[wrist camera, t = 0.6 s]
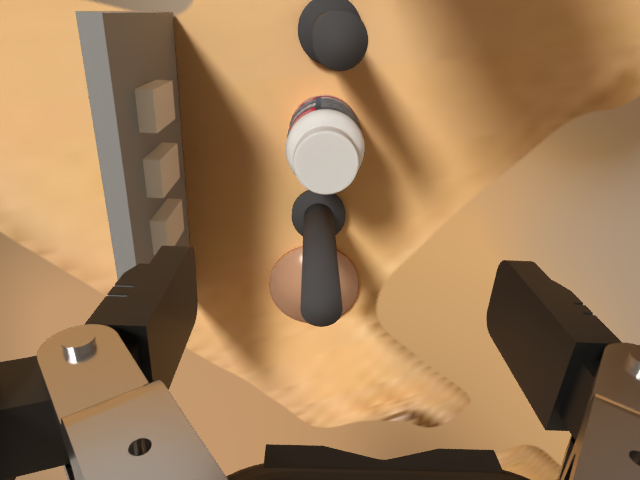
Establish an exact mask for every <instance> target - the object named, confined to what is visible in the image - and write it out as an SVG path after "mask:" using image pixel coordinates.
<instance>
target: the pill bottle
mask: <svg viewBox="0 0 640 480" xmlns="http://www.w3.org/2000/svg"><path fill="white" fill-rule="evenodd" d="M364 153H365V142H364V138H363V134H362V131H361V128H360V126H359V123H358V120H357V118H356V115H355V114H354V112H353V110H352V109H351V107H350V106H349V105H348V104H347V103H345V102H344V101H343V100H341V99H339V98H337V97H334V96H330V95H318V96H314V97H311V98H309V99H307V100H305V101H304V102H303V103H302V104H300V105H299V107H298V108H297V109H296V110H295V112H294V114H293V116H292V119H291V121H290V126H289V130H288V136H287V141H286V157H287V161H288V164H289V166H290V168H291V170H292V171H293V173H294V174H295V175H296V176H297V178H298V180H299V181H300V183H301V184H302V185H303V186H304V187H306V188H307V189H308V190H310V191H312V192H315V193H318V194H334V193H337V192H340V191H342V190H344V189H345V188H347V187H348V186H349V185H350V184H351V183H352V181H353V180H354V178H355V176H356V174H357V172H358V170H359V168H360V166H361V164H362V161H363V158H364Z"/></svg>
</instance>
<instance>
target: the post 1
mask: <svg viewBox="0 0 640 480" xmlns="http://www.w3.org/2000/svg"><path fill="white" fill-rule="evenodd" d="M298 36H299V40H300V43H301V46H302V48H303V49H304V51H305V52H306V54H307V55H308V56H309V57H311V58H312V59H313V60H315V61H317V62H319V63H322V64H323V65H324V66H325V67H327V68H329V69H331V70H335V71H345V70H349V69H351V68H353V67H354V66H356V65H357V64H358V63H359V62H360V61H361V60H362V59H363V57H364V55H365V53H366V50H367V46H368V35H367V31H366V28H365V26H364V24H363V22H362V21H361V19H360V16H359V14H358V12H357V10H356V8H355V7H354V6H353V5H352V3H350V2H349V1H348V0H312V1H311V2H310V3H309V4H308V5H307V6H306V7H305V9H304V10H303V12H302V14H301V16H300V19H299V23H298Z"/></svg>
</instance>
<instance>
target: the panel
mask: <svg viewBox="0 0 640 480" xmlns="http://www.w3.org/2000/svg"><path fill="white" fill-rule="evenodd" d="M76 18H77V24H78V31H79V37H80V43H81V50H82V56H83V62H84V69H85V75H86V81H87V88H88V94H89V100H90V107H91V113H92V119H93V126H94V132H95V138H96V145H97V151H98V157H99V164H100V170H101V176H102V183H103V189H104V195H105V202H106V208H107V214H108V221H109V227H110V233H111V240H112V246H113V252H114V259H115V265H116V271H117V278H118V280H119V279H120V277H121V276H122V275H123V273H124V272H126V271H128V270H129V269H131V268H133V267H134V266H136V265H138V264H139V263H144V264H149V263H150V262H151V261H152V259H153V258H154V256H155V255H156V253H157V252H158V250H159V249H160V247H161V246H186V247H190V238H189V225H188V211H187V198H186V185H185V171H184V158H183V144H182V131H181V118H180V104H179V91H178V78H177V64H176V51H175V37H174V24H173V12H158V11H76Z"/></svg>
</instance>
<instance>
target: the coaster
mask: <svg viewBox="0 0 640 480" xmlns="http://www.w3.org/2000/svg"><path fill="white" fill-rule="evenodd" d="M302 254H303V246H302V247H298V248H296V249H293V250H291V251H289V252H288V253H286V254H285V255H283V256H282V257H281V258H280V259H279V260H278V262H277V263H276V264H275V266H274V268H273V270H272V273H271V277H270V284H269V286H270V293H271V296H272V299H273V301H274V303H275V304H276V306H277V307H278V308H279V309H280V310H281V311H282V312H283V313H284V314H286V315H287V316H289V317H291V318H293V319H295V320H298V321H301V322H306V323H308V322H307V321H305V320H304V318H303V317H302V315H301V311H300V306H301V280H302ZM337 258H338V268H339V277H340V287H341V297H342V306H343V311H342V314H344V313H345V312H346V311H347V310H348V309H349V308H350V307H351V306H352V304H353V303H354V301H355V299H356V297H357V294H358V289H359V282H358V276H357V272H356V270H355V267H354V266H353V264H352V262H351V261H350V260H349V259H348V258H347V257H346V256H345V255H344V254H342V253H341V252H339V251H337Z"/></svg>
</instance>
